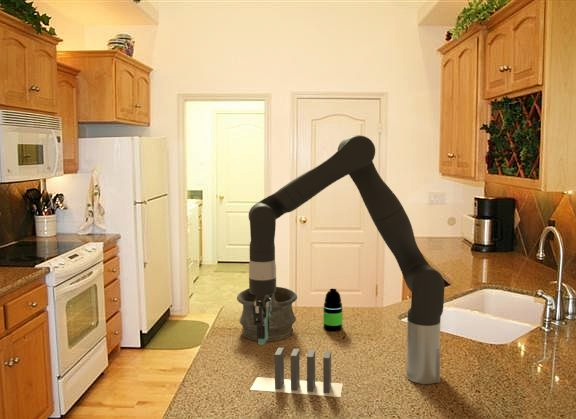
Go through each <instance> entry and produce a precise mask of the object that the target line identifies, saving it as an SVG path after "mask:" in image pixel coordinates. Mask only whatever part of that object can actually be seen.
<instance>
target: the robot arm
mask: <svg viewBox="0 0 576 419" xmlns="http://www.w3.org/2000/svg"><path fill="white" fill-rule="evenodd" d="M375 156H376V146H375V144H374V142H373V141H372V140H371V139H370V138H368V136H364V135H360V134H359V135H357V134H356V135H352V136H348V137H346V138H343V140H341V141H340V143H339V145H338V148H337V150H336V152H334V154H333V155H332V156H330V157H329V158H327V159H326V160H325V161H323V162H322V163H320V164H319V165H317V166H315V167H313V168H312V169H309V170H308V171H306V172H304V173H302V174H300V175H299V176H297V177H296V178H294V179H291V181H289V182H288V183H287V184H285V185H283V186H282V187H281V188H280V189H278V190H277V191H276V192H274V193H272V194H270V195H268V196H267V197H264V198H263V199H261V200H260V201H258V202H257V203H255V204H253V206H251V208H250V209H249V212H248V221H249V227H250V228H249V230H250V241H249V264H248V265H249V266H248V287H249V288H248V289H249V292H250V293H251V294H254V295H256V300H255V302H254V306H253V307H252V309H253V319H254V325H255V326H257V338H258V339H264V338H265V319H266V317H267V315H268V332H269V330H270V322H269V318H270V317H271V315H270V314H272V296H273V295H272V294H274V293H275V292H276V287H277V264H276V246H275V239H276V238H275V237H276V224H277V219H279V218H280V217H282V216H284V215H285V214H288V213H291V212H294V211H295V210H297V209H298V208H299V207H301V206H302V205H304V204H306V203H307V202H309V200H311V199H313V198H314V197H315V196H317V195H318V194H320V193H321V192H322V191H324V190H325V189H327V187H330V186H331V185H333V184H334V183H335V182H337V181H339V180H340V179H342V178H344V177H346V176H348V175H349V177H350V179H351V180H352V182H353V183H354V185H355V187H356V188H357V190H358V192H359V195H360V197H361V199H362V202H363V203H364V205H365V207H366V210H367V212H368V214H369V216H370V218H371V220H372V222H373V224H374V226H375V227H376V230H377V231H378V233H379V234H380V237H382V240H383V241H384V242H385V244H386V246H387V248H388V249H389V250H390V252H391V253H392V255H393V256H394V258H395V260H396V262H397V264H398V267H399V269H400V272H401V274H402V277H403V280H404V283H405V284H406V287H407V289H408V290H409V291H410V292H411V298H410V299H411V300H410V308H409V309H408V311H407V321H406V322H407V323H406V324H407V325H406V331H407V332H406V378H407V379H408V380H409V381H411V382H414V383H416V384H419V385H420V384H421V385H431V384H437V383H441V354H442V353H441V348H440V347H441V344H440V343H441V320H442V319H441V317H442V314H443V312H444V303H445V302H444V301H445V281H444V277H443V275H442V274H441V272H439V271H438V270H436V269H435V268H434V267H432V266H431V265H430V264H429V262H428V261H427V260H426V258H425V256H424V255H423V253H422V252H421V250H420V248H419V247H418V244H417V242H416V241H417V240H416V238H415V235H414V234H415V233H414V229H413V227H412V223H411V221H410V218H409V215H408V214H407V212H406V210H405V209H404V207H403V204H402V203H401V201H400V199H399V198H398V197H397V196H396V194H395V193H394V191H393V190H392V189H391V188H390V187H389V185H388V184H387V183H385V180H383V179H382V177H381V176H380V174H379V172H378V170H377V169H376V167H375V164H374V158H375ZM263 311H264V313H265V314H263ZM258 319H261V321H258Z"/></svg>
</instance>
